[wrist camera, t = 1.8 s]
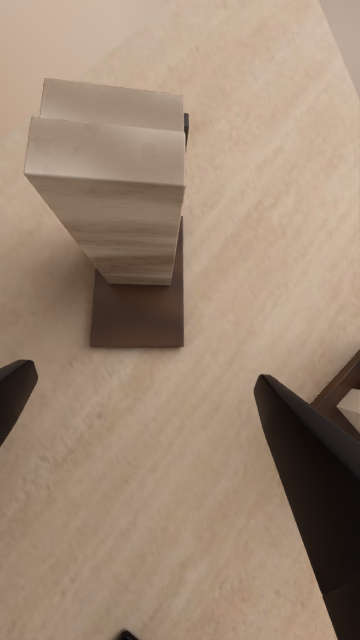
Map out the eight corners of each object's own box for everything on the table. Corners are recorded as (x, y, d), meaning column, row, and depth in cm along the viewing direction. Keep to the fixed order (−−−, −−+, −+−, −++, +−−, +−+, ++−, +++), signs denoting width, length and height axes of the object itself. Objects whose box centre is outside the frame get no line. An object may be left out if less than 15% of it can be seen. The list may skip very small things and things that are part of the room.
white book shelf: (182, 346, 23) (223, 339, 8) (93, 347, 22) (-46, 338, 7) (182, 221, 25) (212, 40, 11) (101, 216, 24) (11, 9, 10)
